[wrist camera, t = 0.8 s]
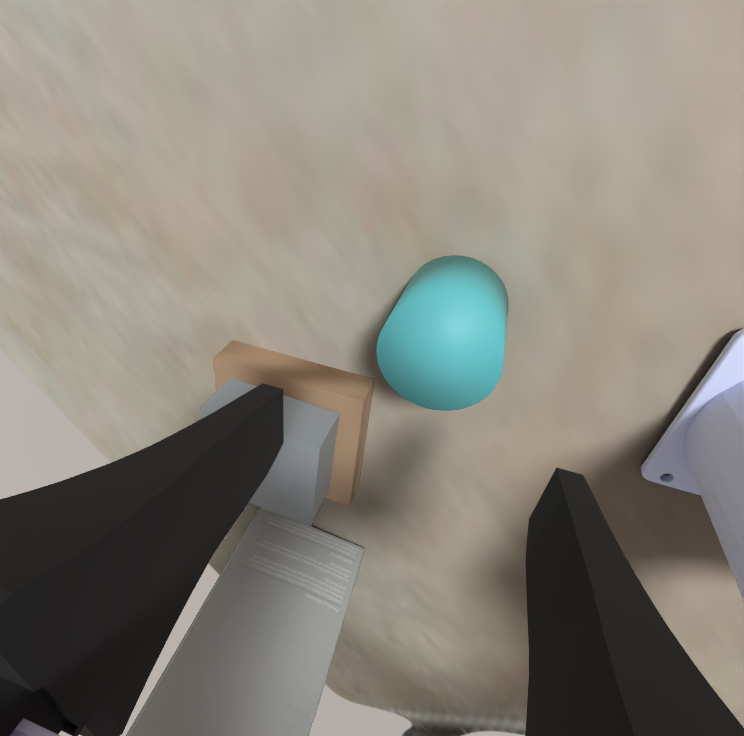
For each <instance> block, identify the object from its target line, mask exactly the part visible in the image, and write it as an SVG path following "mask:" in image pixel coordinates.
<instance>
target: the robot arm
mask: <svg viewBox="0 0 744 736" xmlns="http://www.w3.org/2000/svg"><path fill="white" fill-rule="evenodd" d="M283 443H284V425H283V389H281V388H278V387H274V386H271V385H267V384H264V383H262V384H260V385H259V386H257V387H255V388H254V389H252V390H250V391H248V392H247V393H245V394H243V395H242V396H240V397H238V398H237V399H235V400H233V401H232V402H230V403H228V404H227V405H225V406H223V407H222V408H220V409H218V410H216V411H215V412H213V413H211V414H209V415H208V416H206V417H204V418H202V419H201V420H199V421H197V422H195V423H194V424H192V425H190V426H188V427H186V428H184V429H182V430H180V431H179V432H177V433H175V434H173V435H171V436H169V437H167V438H165V439H163V440H161V441H159V442H157V443H155V444H153V445H151V446H149V447H147V448H145V449H142V450H140V451H138V452H136V453H133V454H131V455H129V456H126V457H124V458H122V459H119V460H117V461H115V462H112V463H110V464H107V465H105V466H102V467H99V468H97V469H94V470H91V471H88V472H86V473H83V474H80V475H77V476H74V477H72V478H69V479H66V480H63V481H61V482H57V483H54V484H51V485H48V486H45V487H41V488H38V489H35V490H32V491H29V492H25V493H22V494H18V495H15V496H11V497H8V498H4V499H0V736H60V735H58V734H59V732H60V731H64V732H66V733H68V734H70V735H72V736H78V735H79V734H80V735H82V736H120V735H121V734H122V733H123V731H124V729H125V726H126V724H127V722H128V720H129V718H130V715H131V713H132V711H133V709H134V707H135V705H136V703H137V700H138V698H139V696H140V694H141V692H142V690H143V688H144V686H145V683H146V681H147V679H148V677H149V675H150V673H151V671H152V669H153V667H154V665H155V663H156V661H157V659H158V657H159V655H160V653H161V651H162V649H163V647H164V645H165V643H166V641H167V639H168V637H169V635H170V633H171V631H172V629H173V627H174V625H175V623H176V621H177V620H178V618H179V616H180V614H181V612H182V610H183V608H184V606H185V604H186V602H187V601H188V599H189V597H190V595H191V593H192V591H193V589H194V588H195V586H196V584H197V582H198V580H199V579H200V577H201V575H202V573H203V571H204V570H205V568H206V566H207V564H208V562H209V561H210V559H211V557H212V556H213V554H214V552H215V551H216V549H217V548H218V546H219V545H220V543H221V541H222V540H223V539H224V537H225V536H226V534H227V533H228V531H229V530H230V528H231V527H232V525H233V524H234V523H235V521H236V520H237V518H238V517H239V515H240V514H241V512H242V511H243V510H244V508H245V507H246V505H247V504H248V502H249V501H250V499H251V498H252V497H253V495H254V494H255V492H256V491H257V489H258V488H259V486H260V485H261V483H262V482H263V480H264V479H265V477H266V476H267V474H268V472H269V470H270V469H271V467H272V465H273V463H274V461H275V459H276V457H277V455H278V453H279V451H280V449H281V447H282V445H283ZM641 472H642V476H643V477H644V478H645V479H646V480H648V481H651V482H655V483H658V484H662V485H665V486H669V487H672V488H676V489H679V490H683V491H686V492H690V493H693V494H697V495H700V496H701V497H702V499H703V502H704V504H705V507H706V509H707V512H708V514H709V517H710V519H711V522H712V524H713V527H714V529H715V531H716V534H717V536H718V539H719V541H720V544H721V546H722V549H723V551H724V554H725V556H726V559H727V561H728V564H729V566H730V568H731V571H732V573H733V576H734V578H735V581H736V583H737V586H738V588H739V591H740V593H741V596H742V598H743V600H744V329H742V330H740V331H738V332H736V333H735V334H734V335H733V336H732V338H731V339H730V341H729V342H728V343H727V345H726V346H725V348H724V349H723V351H722V352H721V353H720V355H719V356H718V358H717V359H716V361H715V362H714V363H713V365H712V366H711V368H710V369H709V371H708V372H707V373H706V375H705V376H704V378H703V379H702V380H701V382H700V383H699V385H698V386H697V388H696V389H695V390H694V392H693V393H692V395H691V396H690V398H689V399H688V400H687V402H686V403H685V405H684V406H683V408H682V409H681V410H680V412H679V413H678V415H677V416H676V418H675V419H674V420H673V422H672V423H671V425H670V426H669V428H668V429H667V430H666V432H665V433H664V435H663V436H662V438H661V439H660V440H659V442H658V443H657V445H656V446H655V448H654V449H653V450H652V452H651V453H650V455H649V456H648V458H647V459H646V460H645V462H644V463H643V465H642V466H641ZM663 474H669V475H666V476H663ZM526 584H527V611H528V636H529V686H528V703H527V721H526V734H525V736H744V728H743V726H742V725H741V724H740V723H739V721H738V720H737V719H736V718H735V716H734V715H733V714H732V713H731V711H730V710H729V709H728V707H727V706H726V705H725V704H724V702H723V701H722V700H721V699H720V697H719V696H718V695H717V694H716V692H715V691H714V690H713V688H712V687H711V686H710V684H709V683H708V682H707V680H706V679H705V678H704V676H703V675H702V674H701V672H700V671H699V670H698V668H697V667H696V666H695V664H694V663H693V662H692V660H691V659H690V657H689V656H688V654H687V653H686V652H685V650H684V649H683V647H682V646H681V645H680V643H679V642H678V640H677V639H676V637H675V636H674V635H673V633H672V632H671V630H670V629H669V627H668V626H667V624H666V623H665V621H664V620H663V618H662V617H661V615H660V614H659V612H658V611H657V609H656V607H655V606H654V604H653V603H652V601H651V599H650V598H649V596H648V594H647V593H646V591H645V590H644V588H643V586H642V585H641V583H640V581H639V580H638V578H637V576H636V574H635V573H634V571H633V569H632V568H631V566H630V564H629V562H628V560H627V559H626V557H625V555H624V553H623V551H622V550H621V548H620V546H619V544H618V542H617V541H616V539H615V537H614V535H613V533H612V531H611V529H610V527H609V525H608V523H607V521H606V520H605V518H604V516H603V514H602V512H601V510H600V508H599V506H598V504H597V502H596V500H595V498H594V496H593V494H592V492H591V490H590V488H589V486H588V484H587V482H586V480H585V478H584V476H583V475H581V474H577V473H574V472H570V471H567V470H563V469H560V468H556V470H555V472H554V474H553V475H552V477H551V479H550V481H549V483H548V485H547V487H546V489H545V490H544V492H543V494H542V496H541V498H540V500H539V502H538V503H537V505H536V507H535V509H534V511H533V513H532V515H531V517H530V518H529V526H528V537H527V549H526Z"/></svg>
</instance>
